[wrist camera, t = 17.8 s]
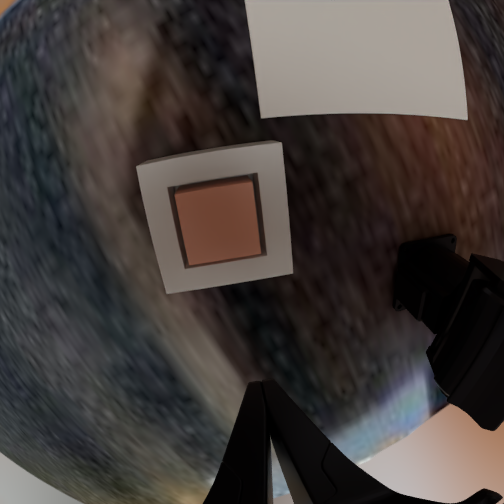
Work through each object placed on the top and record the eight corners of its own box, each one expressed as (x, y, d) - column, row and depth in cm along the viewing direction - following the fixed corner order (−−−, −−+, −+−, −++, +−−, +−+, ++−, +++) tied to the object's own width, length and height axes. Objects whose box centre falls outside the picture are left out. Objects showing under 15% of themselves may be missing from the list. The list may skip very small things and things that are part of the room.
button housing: (271, 140, 18) (281, 142, 16) (282, 254, 22) (293, 273, 19) (147, 160, 18) (136, 166, 15) (171, 272, 21) (166, 294, 18)
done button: (247, 175, 18) (252, 181, 16) (255, 238, 20) (261, 253, 18) (179, 186, 18) (174, 194, 16) (191, 248, 20) (189, 265, 17)
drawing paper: (431, -44, 12) (433, -45, 12) (466, 119, 19) (468, 120, 19) (231, -79, 11) (231, -81, 11) (260, 118, 18) (261, 118, 18)
